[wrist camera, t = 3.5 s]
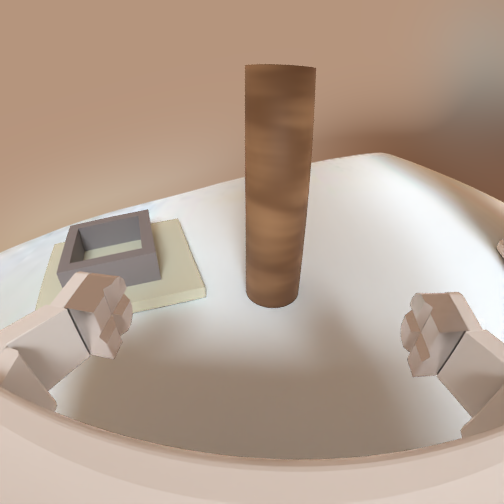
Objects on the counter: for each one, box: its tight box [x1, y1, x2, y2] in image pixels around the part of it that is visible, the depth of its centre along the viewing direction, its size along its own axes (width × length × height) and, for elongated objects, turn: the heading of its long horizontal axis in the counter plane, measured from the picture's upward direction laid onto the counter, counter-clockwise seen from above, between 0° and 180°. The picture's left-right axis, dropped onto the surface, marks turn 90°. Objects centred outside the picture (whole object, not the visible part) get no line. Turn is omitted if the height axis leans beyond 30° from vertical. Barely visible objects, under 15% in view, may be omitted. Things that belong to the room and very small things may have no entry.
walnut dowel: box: [245, 64, 316, 308], centre depth 19 cm, size 4×4×16 cm
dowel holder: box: [35, 210, 206, 313], centre depth 24 cm, size 14×12×4 cm
